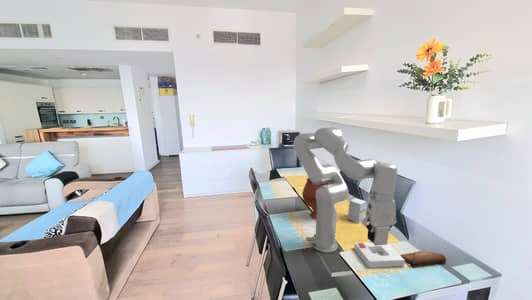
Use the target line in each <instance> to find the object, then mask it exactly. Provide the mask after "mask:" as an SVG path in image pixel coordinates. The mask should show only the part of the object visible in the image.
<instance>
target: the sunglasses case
mask: <svg viewBox="0 0 532 300" xmlns="http://www.w3.org/2000/svg"><path fill="white" fill-rule="evenodd" d="M399 255H400V256H401V257H402V258H403V259H404V260H405V261H406V262H407V263H408V264H410V265H411V266H412V267H414V266H415V267H419V266H424V265H432V264H440V263H442V264H443V263H446V262H447V258H446V256H445V255H444V254H442V253H438V252H433V251H414V252H410V253H409V252H408V253H404V254H399ZM406 262H405V263H406ZM407 263H406V264H407ZM408 264H407V265H408ZM410 265H409V266H410ZM411 266H410V267H411ZM412 267H411V268H412Z"/></svg>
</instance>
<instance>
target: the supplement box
mask: <svg viewBox="0 0 532 300" xmlns="http://www.w3.org/2000/svg"><path fill="white" fill-rule="evenodd" d="M366 204H367V201H366V200H363V199H360V198H356V197H355V198H353V199H351V200H349V202H348V215H347V220H349V219H350V220H349V221H351V220H352V222H353V221H355V222H354V223H356V222H357V223H356V224H360V223H361V222H362V220H363V219H364V218H365V217H366V207H367V205H366ZM359 222H360V223H359Z"/></svg>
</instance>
